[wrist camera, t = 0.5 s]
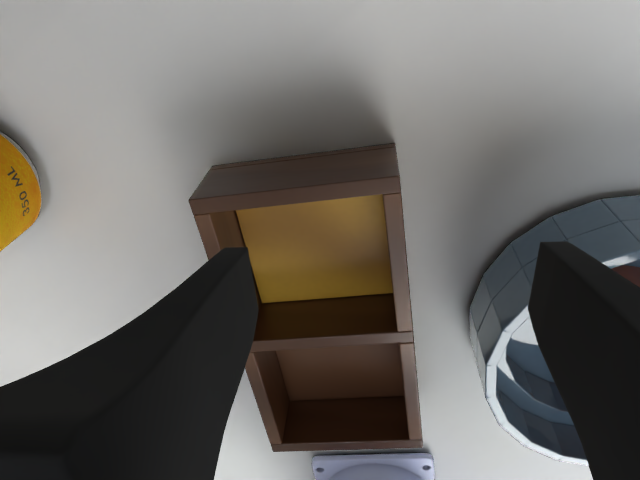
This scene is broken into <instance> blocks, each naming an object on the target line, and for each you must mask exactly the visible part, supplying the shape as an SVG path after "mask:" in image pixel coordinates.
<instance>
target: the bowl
mask: <svg viewBox="0 0 640 480" xmlns="http://www.w3.org/2000/svg"><path fill="white" fill-rule="evenodd" d="M558 241H567V242H569V243H571V244H573V245H575V246H576V247H578V248H580V249H581V250H583V251H584V252H586V253H587V254H589V255H591V256H592V257H594V258H595V259H597V260H598V261H600V262H601V263H603V264H604V265H606V266H607V267H609V268H610V269H612V268H616V267H619V266H622V265H628V266H635V267H640V195H634V196H624V197H614V198H605V199H601V200H600V199H598V200H595V201H593V202H590V203H587V204H584V205H581V206H579V207H576V208H573V209H570V210H567V211H565V212H562V213H559V214H556V215H553V216H552V217H549V218H547V219H546V220H544V221H543V222H541V223H540V224H538V225H537V226H535V227H534V228H532V229H531V230H529V231H528V232H526V233H525V234H523V235H521V236H520V237H518V238H517V239H515V240H514V241H512V242H511V243H510V244H509V245H508V246H507V247H506V249H505V250H504V251H503V252H502V253H501V254H500V255H499V257H498V258H497V259H496V260H495V261H494V262H493V263H492V265H491V266H490V267H489V268H488V269H487V270H486V272H485V273H484V274H483V277H482V279H481V281H480V284H479V286H478V289H477V291H476V294H475V296H474V298H473V301H472V303H471V306H470V340H471V344H472V348H473V351H474V355H475V359H476V363H477V367H478V371H479V375H480V378H481V382H482V386H483V390H484V394H485V398H486V400H487V402H488V404H489V406H490V408H491V410H492V412H493V414H494V416H495V418H496V420H497V422H498V424H499V425H500V426H501V427H502V428H503V429H504V430H505V431H506V432H508V433H509V434H510V435H511V436H512V437H513V438H515V439H516V440H517V441H518V442H519V443H520V444H522V445H523V446H525V447H526V448H529V449H531V450H533V451H536V452H538V453H540V454H543V455H545V456H547V457H550V458H552V459H554V460H557V461H561V462H566V463H572V464H578V465H584V466H589V465H588V462H587V459H586V456H585V453H584V449H583V446H582V443H581V441H580V438H579V436H578V433H577V431H576V428H575V426H574V424H573V421H572V419H571V417H570V415H569V413H568V410H567V408H566V406H565V404H564V402H563V399H562V397H561V395H560V393H559V391H558V388H557V386H556V384H555V382H554V380H553V377H552V375H551V373H550V371H549V369H548V366H547V364H546V362H545V360H544V357H543V355H542V353H541V351H540V348H539V346H538V343H537V340H536V337H535V333H534V330H533V326H532V323H531V319H530V315H529V312H528V305H529V299H530V294H531V289H532V283H533V278H534V273H535V267H536V262H537V257H538V251H539V246H540V242H558Z"/></svg>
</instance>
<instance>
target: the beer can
mask: <svg viewBox="0 0 640 480" xmlns="http://www.w3.org/2000/svg"><path fill="white" fill-rule="evenodd" d="M40 209H41V191H40V182H39V177H38V174H37V172H36V169H35V167H34V165H33V163H32V161H31V160H30V158H29V157H28V156H27V154H26V153H25V152H24V151H23V150H22V148H21V147H20V146H19V145H18V144H16V143H15V142H14V141H13V140H12V139H11V138H9V137H8V136H6V135H5V134H3V133H2V132H0V251H1V250H3V249H4V248H5V247H6V246H7V245H9V244H10V243H11V242H12V241H13V240H15V239H16V238H17V237H18V236H19V235H21V234H22V233H23V232H24V231H25V230H27V229H28V228H29V227H30V226H31V225H32V224H33V223H34V222H35V221H36V219H37V217H38V215H39V213H40Z"/></svg>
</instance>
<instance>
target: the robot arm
mask: <svg viewBox="0 0 640 480" xmlns="http://www.w3.org/2000/svg"><path fill="white" fill-rule="evenodd" d="M258 311H259V309H258V303H257V297H256V292H255V286H254V280H253V275H252V269H251V264H250V258H249V252H248V247H230V248H223V249H222V250H221V251H219V252H218V253H217V254H216V255H215V256H213V257H212V258H211V259H210V260H209V261H208V262H206V263H205V264H204V265H203V266H202V267H201V268H199V269H198V270H197V271H196V272H195V273H194V274H192V275H191V276H190V277H189V278H188V279H186V280H185V281H184V282H183V283H182V284H181V285H179V286H178V287H177V288H176V289H174V290H173V291H172V292H171V293H169V294H168V295H167V296H165V297H164V298H163V299H161V300H160V301H159V302H157V303H156V304H155V305H153V306H152V307H151V308H150V309H148V310H147V311H146V312H144V313H143V314H141V315H140V316H138V317H137V318H135V319H134V320H132V321H131V322H129V323H128V324H126V325H125V326H123V327H121V328H120V329H118V330H117V331H115V332H113V333H112V334H110V335H108V336H107V337H105V338H103V339H101V340H100V341H98V342H96V343H94V344H92V345H90V346H88V347H86V348H85V349H83V350H81V351H79V352H77V353H75V354H73V355H72V356H70V357H68V358H66V359H64V360H62V361H59V362H57V363H55V364H53V365H51V366H49V367H47V368H44V369H42V370H40V371H38V372H35V373H33V374H31V375H28V376H26V377H24V378H21V379H19V380H16V381H14V382H12V383H9V384H7V385H4V386H1V387H0V480H214V475H215V470H216V466H217V461H218V457H219V452H220V448H221V443H222V438H223V434H224V430H225V427H226V423H227V420H228V416H229V413H230V410H231V407H232V404H233V401H234V398H235V395H236V392H237V389H238V386H239V383H240V380H241V377H242V374H243V371H244V368H245V365H246V362H247V359H248V356H249V353H250V350H251V347H252V344H253V339H254V334H255V329H256V323H257V317H258ZM528 312H529V315H530V319H531V323H532V326H533V330H534V333H535V337H536V340H537V343H538V346H539V348H540V351H541V353H542V355H543V357H544V360H545V362H546V364H547V366H548V369H549V371H550V373H551V375H552V377H553V380H554V382H555V384H556V386H557V388H558V391H559V393H560V395H561V397H562V399H563V402H564V404H565V406H566V408H567V410H568V413H569V415H570V417H571V419H572V421H573V424H574V426H575V428H576V431H577V433H578V436H579V438H580V441H581V443H582V446H583V449H584V453H585V456H586V459H587V462H588V465H589V468H590V471H591V474H592V477H593V480H640V287H639V286H637V285H635V284H634V283H632V282H631V281H629V280H628V279H626V278H624V277H623V276H621V275H620V274H618V273H617V272H615V271H614V270H612V269H610V268H609V267H607V266H606V265H604V264H603V263H601V262H600V261H598V260H597V259H595V258H594V257H592V256H591V255H589V254H587V253H586V252H584V251H583V250H581V249H580V248H578V247H576V246H575V245H573V244H571V243H569V242H567V241H558V242H540V246H539V251H538V257H537V262H536V267H535V273H534V278H533V283H532V289H531V294H530V299H529V305H528ZM312 468H313V472H314V476H315V479H316V480H435V471H434V459H433V456H432V455H431V454H428V453H406V454H367V455H329V456H315V457H313V458H312Z"/></svg>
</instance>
